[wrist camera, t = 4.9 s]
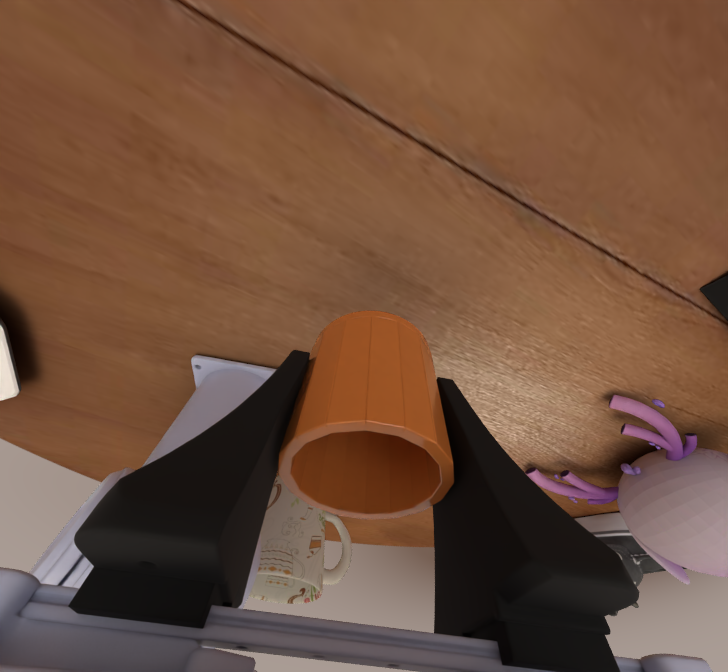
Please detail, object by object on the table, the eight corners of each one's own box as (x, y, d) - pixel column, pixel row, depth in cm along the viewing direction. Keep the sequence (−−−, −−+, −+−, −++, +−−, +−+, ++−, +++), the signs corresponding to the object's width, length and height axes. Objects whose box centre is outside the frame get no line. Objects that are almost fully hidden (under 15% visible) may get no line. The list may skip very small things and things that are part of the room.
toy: (863, 486, 22) (643, 355, 30) (927, 589, 15) (621, 384, 23) (690, 555, 30) (552, 437, 38) (682, 643, 23) (516, 477, 31)
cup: (410, 408, 15) (422, 528, 11) (308, 390, 15) (275, 506, 10) (447, 324, 12) (484, 441, 8) (320, 298, 12) (281, 406, 7)
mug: (288, 454, 32) (256, 565, 24) (377, 496, 36) (375, 603, 28) (254, 483, 36) (216, 587, 28) (337, 518, 40) (325, 618, 32)
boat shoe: (699, 509, 34) (778, 607, 27) (665, 542, 39) (725, 632, 32) (466, 510, 37) (484, 597, 30) (462, 540, 42) (477, 621, 35)
